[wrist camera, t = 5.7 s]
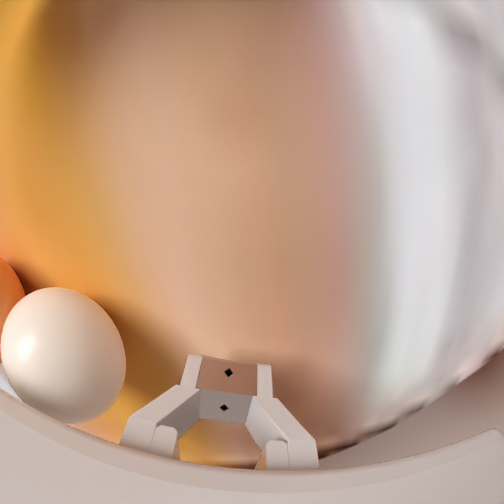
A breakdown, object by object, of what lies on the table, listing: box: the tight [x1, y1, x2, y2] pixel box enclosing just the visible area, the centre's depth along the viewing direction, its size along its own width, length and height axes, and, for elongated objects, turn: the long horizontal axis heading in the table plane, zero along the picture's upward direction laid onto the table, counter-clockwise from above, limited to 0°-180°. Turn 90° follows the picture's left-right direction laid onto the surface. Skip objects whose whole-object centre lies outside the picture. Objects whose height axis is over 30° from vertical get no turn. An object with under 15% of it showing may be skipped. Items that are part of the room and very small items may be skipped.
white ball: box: [0, 287, 126, 424], centre depth 9 cm, size 6×6×6 cm
